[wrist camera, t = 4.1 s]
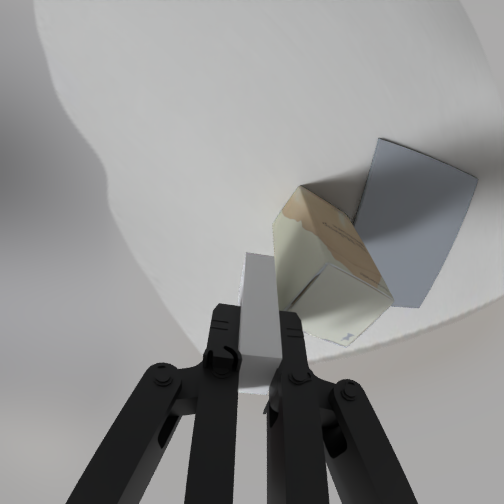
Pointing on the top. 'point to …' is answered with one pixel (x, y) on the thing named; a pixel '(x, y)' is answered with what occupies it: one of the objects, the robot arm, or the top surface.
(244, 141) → the top surface
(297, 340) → the robot arm
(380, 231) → the mat
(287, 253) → the box
